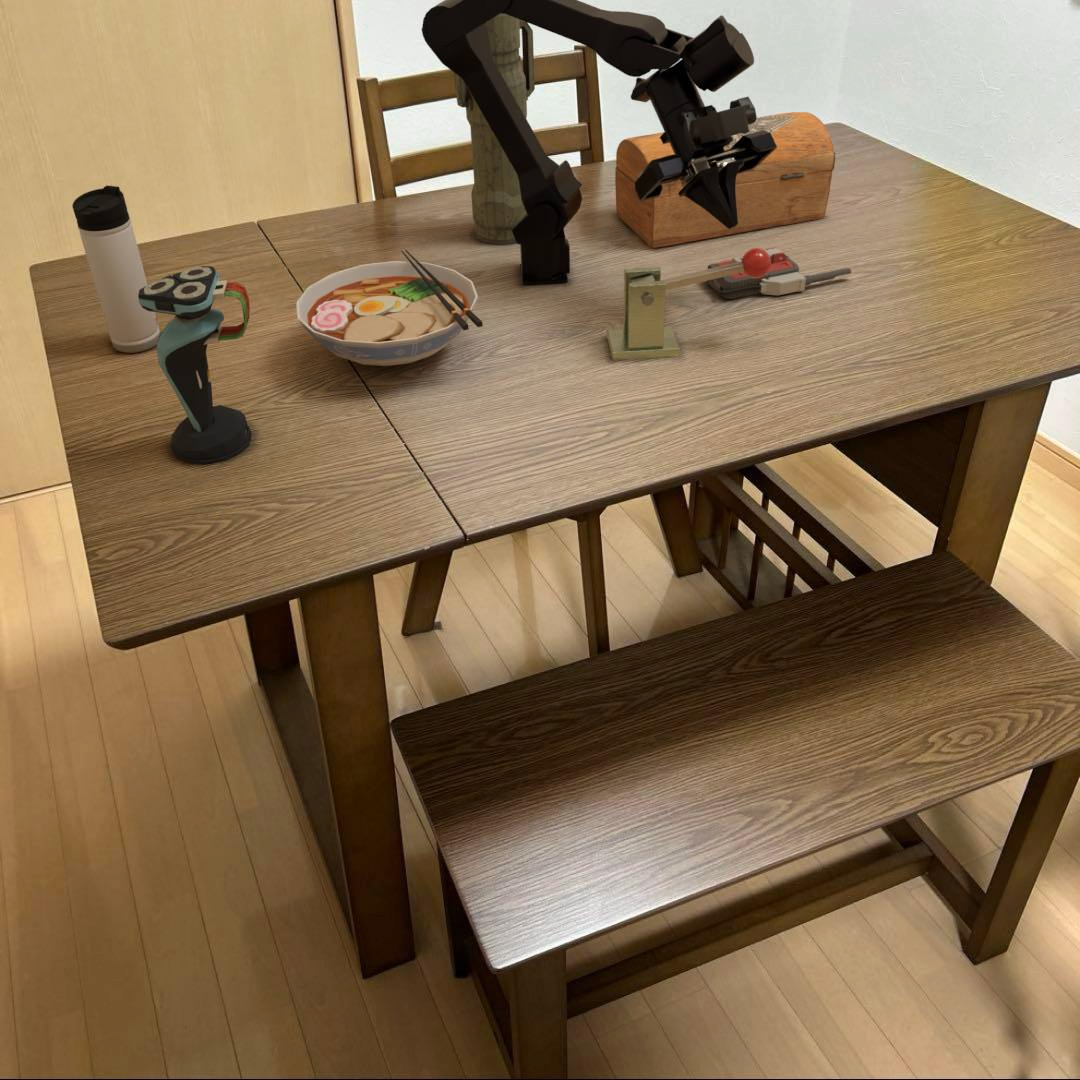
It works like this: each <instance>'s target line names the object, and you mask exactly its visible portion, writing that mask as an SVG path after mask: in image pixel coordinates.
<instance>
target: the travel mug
mask: <svg viewBox="0 0 1080 1080" xmlns="http://www.w3.org/2000/svg"><path fill="white" fill-rule="evenodd" d="M125 199H126V198H125V195H124V192H123V191H121V189H120V186H116V185H105V186H103V188H97V189H93V190H90V191H87V192H84V193H83V194H81V195H79V196H78V197H76V198H75V199H74V200H73V202H72V205H71V207H72V210H73V213H74V217H75V219H76V224H77V229H78V231H79V235H80V240H81V242H82V246H83V249H84V253H85V255H86V260H87V263H88V267H89V269H90V273H91V277H92V280H93V283H94V287H95V291H96V293H97V297H98V301H99V303H100V307H101V310H102V314H103V317H104V321H105V324H106V328H107V330H108V333H109V336H110V337H109V338H110V341H111V344H112V347H113V348H114V349H115V350H116V351H118V352H121V353H125V354H135V353H142V352H145V351H148V350H150V349H152V348H155V347H157V341H158V338H159V336H160V334H161V329H160V326H159V323H158V319H157V315H156V312H151V311H147V310H146V309H144V308H142V306H141V305H140V303H139V300H138V294H139V290H140V289H141V288H143V287H145V286H147V285H149V284H148V280H147V277H146V273H145V269H144V266H143V261H142V257H141V254H140V250H139V247H138V243H137V239H136V235H135V231H134V227H133V224H132V220H131V216H130V215H129V211H128V206H127V203H126V200H125Z"/></svg>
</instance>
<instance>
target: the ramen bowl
mask: <svg viewBox="0 0 1080 1080" xmlns="http://www.w3.org/2000/svg"><path fill="white" fill-rule="evenodd" d="M404 250H405V252H406V253H405V252H404V251H403V250H401V251H400V252H401V253H402V255H403V256H404V258H406V260H407V261H401V260H392V261H383V262H375V263H366V264H360V265H356V266H352V267H349V268H346V269H343V270H340V271H336V272H332V273H330V274H328V275H326V276H324V277H323V278H322V279H319V280H317V281H315V282H314V283H312V284H310V285H309V286H307V288H306V289H305V290H304V291H303V293H302V294H301V295H300V297H299V298H298V300H297V301H296V302H295V304H296V305H295V306H296V318H297V320H298V322H299V323H300V324H301V326H302V327H303V328H304V329H305V330H306V331H307V332H308V333H309V334H310V335H311V336H312V338H314V339H315V340H316V341H318V342H319V343H320V344H321V345H322V346H323V347H324V348H325V349H327V350H328V351H329V352H331V353H332V354H334V356H337V357H339V358H342V359H345V360H348V361H350V362H351V361H352V362H354V363H358V364H361V365H364V366H380V367H390V366H396V365H399V366H400V365H406V364H411V363H415V362H417V361H419V360H423V359H426V358H428V357H431V356H433V355H435V354H437V353H438V352H440V350H442V349H443V348H445V347H446V346H448V345H450V344H451V343H452V342H453V341H455V339H456V338H457V337H458V336H459V335H460V333H461V332H462V330H463V331H469V329H470V327H469V324H468V320H470V321H471V322H472V323H473V324H474V325H475V326H476V327H477V328H481V327H483V321H482V320H481V319H480V318H479V317H478V316H477V315H476V314H475V313H474V312H473V310H474V307H475V305H476V302H477V301H478V298H479V295H478V293H477V290H476V287H475V284H474V282H473V280H471V279H470V278H468V277H466V276H464V275H463V274H461V273H460V272H458V271H457V270H455V269H452V268H449V267H446V266H441V265H437V264H434V263H430V262H423V261H419V260H418V259H416V257H415V256H413V255H412V254H411V253H410V252H409V251H408V250H407V249H404ZM410 257H411V259H410ZM412 260H413V261H412Z"/></svg>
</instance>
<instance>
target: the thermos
mask: <svg viewBox="0 0 1080 1080" xmlns="http://www.w3.org/2000/svg"><path fill="white" fill-rule="evenodd" d="M529 24H530V23H527V22H525V21H522V20H520V19H517V18H515V17H512V16H510V15H507V14H503V13H501V14H499V15H497V16H496V17H494V18H492V19H491V20H489V21H487V22H486V23H485V25H486V27H487V30H488V33H489V39H490V46H491V52H492V57H493V60H494V62H495V64H496V66H497V68H498V69H499V71H500V73H501V75H502V76H503V78H504V80H505V82H506V84H507V85H508V87H509V89H510V91H511V93H512V94H513V96H514V98H515V100H516V101H517V103H518V105H519V107H520V109H521V110H522V112H523V114H524V116H525V118H526V119H527V117H528V103H527V102H528V101H529V98H530V97H531V95H532V94H533V93H534V91H535V87H536V85H535V57H534V56H535V55H534V31H533V28H532V27H531V26H530V25H529ZM521 45H522V47H521ZM520 48H521V50H522V56H521V55H520ZM453 75H454V88H455V89H454V90H455V97H456V98H455V99H456V103H457V106H458V107H460V108H465V114H466V117H465V118H466V120H467V122H468V124H469V126H470V141H471V158H472V173H473V186H472V189H471V193H470V196H471V210H472V211H471V212H472V220H473V222H474V236H475V237H476V239H477V240H478V241H480V242H483V243H486V244H489V245H490V244H491V245H512V244H517V243H516V240H515V238H514V235H513V232H512V230H513V228H514V227H515V226H516V225H517V224H518V223H519V222H520V221H521V220H522V219H523V217H524V216H525V215H526V214H527V213H526V210H525V208H524V205H523V203H522V200H521V193H520V186H519V180H518V176H517V173H516V172H515V170H514V168H513V166H512V165H511V163H510V161H509V159H508V158H507V156H506V154H505V153H504V151H503V149H502V147H501V146H500V144H499V142H498V140H497V139H496V137H495V135H494V133H493V132H492V130H491V128H490V126H489V125H488V123H487V121H486V120H485V118H484V116H483V114H482V113H481V111H480V109H479V107H478V106H477V104H476V102H475V100H474V99H473V97H472V95H471V93H470V92H469V90H468V88H467V86H466V85H465V83H464V81H463V80H462V79H461V78H460V77H459V76H458V75H457V74H455V73H454V72H453Z"/></svg>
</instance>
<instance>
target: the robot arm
mask: <svg viewBox="0 0 1080 1080" xmlns="http://www.w3.org/2000/svg"><path fill="white" fill-rule="evenodd" d="M501 13H503V14H507V15H510V16H512V17H515V18H517V19H520V20H522V21H525V22H527V23H528V24H530V25H532V26H535V27H537V28H540V29H543V30H546V31H548V32H551V33H554V34H556V35H558V36H561V37H563V38H566V39H568V40H571V41H573V42H575V43H578V44H581V45H584V46H586V47H587V48H589V49H591V50H592V51H593V52H595V53H596V54H597V56H598V57H600V58H601V59H602V60H603V61H604V62H605V63H606V64H608V65H610V66H611V67H613V68H615V69H616V70H618V71H619V72H621V73H623V74H624V75H626V76H629V77H633V78H635V85H634V87H633V88H632V92H631V94H630V99H631V100H632V101H637V102H641V103H648V102H649V101H650V102H651V106H652V107H653V110H654V112H655V114H656V117H657V118H658V120H659V123H660V125H661V127H662V129H663V132H664V133H663V134H662V135H661V137H660V138H661V141H662V143H663V144H666V143H670V145H671V147H672V149H673V151H674V154H675V155H674V154H673V155H669V156H665V157H662V158H658V159H654V160H652V161H651V162H650V163H649V164H648V165H647V166H646V167H645V168H644V170H643V171H642V172H641V173H640V174H639V175H638V176H637V177H636V180H635V190H636V192H637V195H638V197H639V199H640V201H645V200H649V199H652V198H656V197H659V195H660V194H661V191H662V188H663V187H662V184H666V183H669V182H673V181H676V180H680V181H681V184H682V186H683V188H682V189H681V190H680V191H679V193H678V194H679V196H680V197H682V196H685V197H687V198H689V199H690V200H692V201H693V202H695V203H696V204H698V205H699V206H700V207H702V208H703V209H705V210H706V211H707V212H708V213H710V214H711V215H712V216H713V217H715V218H716V219H717V220H718V221H720V222H721V223H722V224H723V225H725V226H726V227H727V228H728V229H731V228H734V227H736V226H737V225H738V218H737V205H736V192H735V185H736V176H737V174H740V173H743V172H747V171H750V170H752V169H754V168H756V167H757V166H758V165H759V164H760V163H761V162H762V161H763V160H764V159H765V158H766V157H768V156H769V155H770V154H771V153H772V152H773V151H774V150H775V149H776V148H777V145H776V143H775V141H774V139H773V137H772V135H771V133H770V132H767V131H764V130H762V131H759V132H755V133H751V134H747V135H744V136H742V137H741V138H740V139H739V140H738V141H737V142H736V143H735V144H734V145H733V146H732V147H731V148H730V149H728V150H724V147H725V146H726V145H729V144H730V143H731V142H732V141H733V138H732V136H733V135H736V134H739V133H742V134H745V133H749V132H750V131H749V127H748V125H749V124H752V123H755V122H756V119H757V118H758V116H757V112H756V108H755V105H754V104H753V102H752V100H751V99H750V97H749V96H745V97H740V98H738V99H735V100H731V101H730V103H729V108H728V109H724V110H720V111H717V109H716V107H715V106H714V105H713V104H710V105H705V102H704V101H703V99H702V96H701V94H700V92H699V90H701V91H703V92H706V91H707V90H708V91H709V92H712V93H715V92H717V91H719V90H720V89H722V88H723V87H725V86H726V85H727V84H728V83H730V82H731V81H732V80H733V79H736V77H738V76H739V75H741V74H742V73H743V72H745V71H747V70H748V69H749V68H750V67H752V66H753V65H754V64H755V57H754V53H753V50H752V48H751V45H750V44H749V41H748V40H747V38H746V37H745V35H744V33H743V32H740V31H739V30H738V28H737V27H735V25H732V23H730V22H728V21H727V20H726V17H725V16H724V15H720V16H718V17H717V18H715V19H714V20H713V21H712V22H711V23H710V24H709V25H708V26H707V27H706V28H705V29H704V30H702V31H701V32H700V33H698V34H697V35H696V36H695V37H692V36H690V35H686V34H683V33H681V32H678V31H676V30H673V29H669V28H666V24H665V23H664V22H663V21H662V20H661V19H660V18H658V17H656V16H653V15H650V14H649V15H648V14H643V13H639V12H633V11H621V10H620V11H619V10H618V11H617V10H607V9H606V10H605V9H601V8H599V7H596V6H594V5H591V4H588V3H586V2H583V1H580V0H443V1H441V2H439V3H438V4H436V5H435V6H433V7H431V8H429V10H428V11H427V12H426V13H425V15H424V17H423V20H422V26H421V35H422V37H423V39H424V42H425V43H426V45H427V46H428V48H429V49H430V50H431V51H432V52H433V54H434V55H435V56H436V58H437V59H438V60H439V61H440V63H441V64H442V65H444V66H445V67H446V68H447V69H449V71H451V72H453V74H454V73H455V74H457V75H458V76H459V77H460V78H461V79H462V80H463V81H464V83H465V85H466V86H467V88H468V90H469V92H470V93H471V95H472V97H473V99H474V100H475V102H476V104H477V106H478V107H479V109H480V111H481V113H482V114H483V116H484V118H485V120H486V121H487V123H488V125H489V126H490V128H491V130H492V132H493V133H494V135H495V137H496V139H497V140H498V142H499V144H500V146H501V147H502V149H503V151H504V153H505V154H506V156H507V158H508V159H509V161H510V163H511V165H512V166H513V168H514V170H515V172H516V173H517V176H518V180H519V186H520V193H521V200H522V203H523V205H524V208H525V210H526V213H527V214H526V215H525V216H524V217H523V219H522V220H521V221H520V222H519V223H518V224H517V225H516V226H515V227H514V228H513V230H512V232H513V235H514V238H515V240H516V243H515V244H517V245H519V249H520V250H519V253H520V264H519V272H520V279H521V285H522V286H535V285H552V284H553V285H554V284H566V283H568V281H569V278H568V275H570V273H571V254H570V253H571V247H570V246H571V245H570V243H569V240H568V239H567V238H566V234H565V227H567V225H568V224H569V223H570V222H571V220H572V219H573V218H574V216H575V215H576V214H577V213H578V211H579V210H580V208H581V205H582V200H583V197H582V196H583V195H582V192H581V189H580V188H581V187H582V186H583V184H582V182H580V181H579V180H578V179H577V178H576V175H574V173H573V169H572V167H571V165H570V162H568V160H567V159H566V160H563V161H562V162H561V163H560V164H559V163H557V162H556V161H554V160H553V159H551V157H550V156H548V154H547V153H546V151H545V150H544V148H543V146H542V144H541V142H540V140H539V139H538V137H537V135H536V133H535V131H534V130H533V128H532V126H531V124H530V123H529V122H528V119H527V117H526V118H525V116H524V114H523V112H522V110H521V109H520V107H519V105H518V103H517V101H516V100H515V98H514V96H513V94H512V93H511V91H510V89H509V87H508V85H507V84H506V82H505V80H504V78H503V76H502V75H501V73H500V71H499V69H498V68H497V66H496V64H495V62H494V60H493V57H492V52H491V46H490V39H489V33H488V30H487V27H486V25H485V23H486V22H487V21H489V20H491V19H492V18H494V17H496V16H497V15H499V14H501ZM652 70H656V71H655V72H653V73H652V74H651V75H649V76H648V77H647V78H643V77H642V76H644V75H646V74H649V73H650V72H651V71H652ZM698 89H699V90H698ZM713 161H716V162H713Z"/></svg>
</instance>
